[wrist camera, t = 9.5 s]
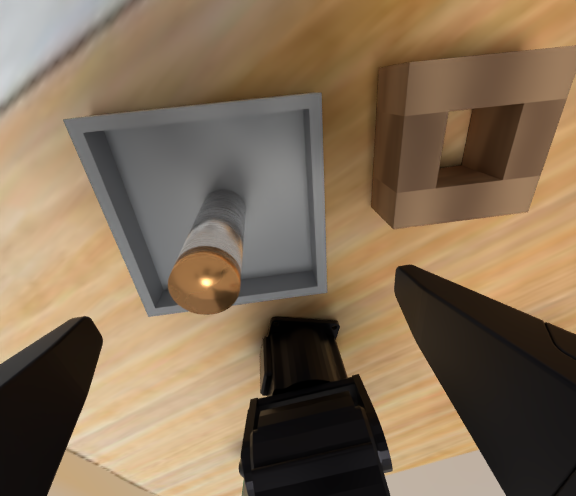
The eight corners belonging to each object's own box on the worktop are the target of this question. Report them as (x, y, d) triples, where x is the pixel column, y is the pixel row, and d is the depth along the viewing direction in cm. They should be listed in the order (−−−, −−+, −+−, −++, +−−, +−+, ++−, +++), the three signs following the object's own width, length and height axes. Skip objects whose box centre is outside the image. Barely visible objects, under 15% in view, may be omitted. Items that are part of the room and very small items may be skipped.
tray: (312, 92, 18) (321, 92, 15) (319, 272, 24) (327, 292, 22) (90, 115, 17) (62, 119, 15) (159, 293, 24) (148, 316, 21)
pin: (248, 192, 20) (243, 261, 12) (243, 231, 21) (236, 316, 13) (202, 186, 19) (166, 254, 11) (201, 226, 21) (168, 312, 13)
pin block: (520, 53, 18) (585, 44, 14) (484, 193, 22) (527, 212, 19) (378, 67, 17) (410, 62, 14) (371, 207, 22) (393, 229, 18)
